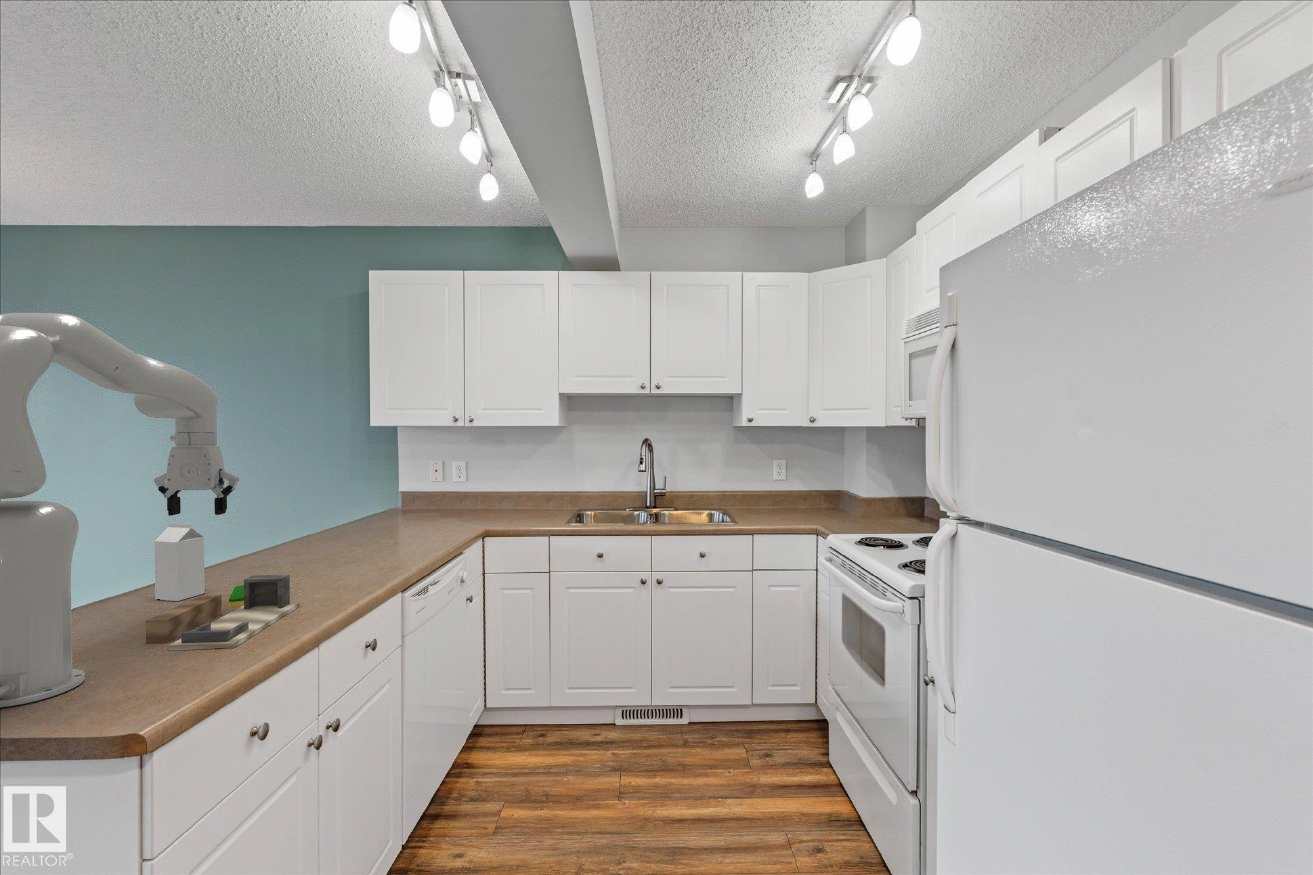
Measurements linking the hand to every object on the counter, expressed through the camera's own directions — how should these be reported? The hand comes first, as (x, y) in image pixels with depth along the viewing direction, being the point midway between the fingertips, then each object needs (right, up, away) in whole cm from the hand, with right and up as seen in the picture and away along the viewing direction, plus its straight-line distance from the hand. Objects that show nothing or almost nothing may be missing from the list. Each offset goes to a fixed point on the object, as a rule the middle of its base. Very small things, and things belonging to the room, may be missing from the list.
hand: (197, 514), depth 135 cm
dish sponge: (+2, -24, +15) cm, 28 cm away
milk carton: (-16, -24, +15) cm, 33 cm away
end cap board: (+14, -24, -6) cm, 28 cm away
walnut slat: (+3, -24, -7) cm, 25 cm away
